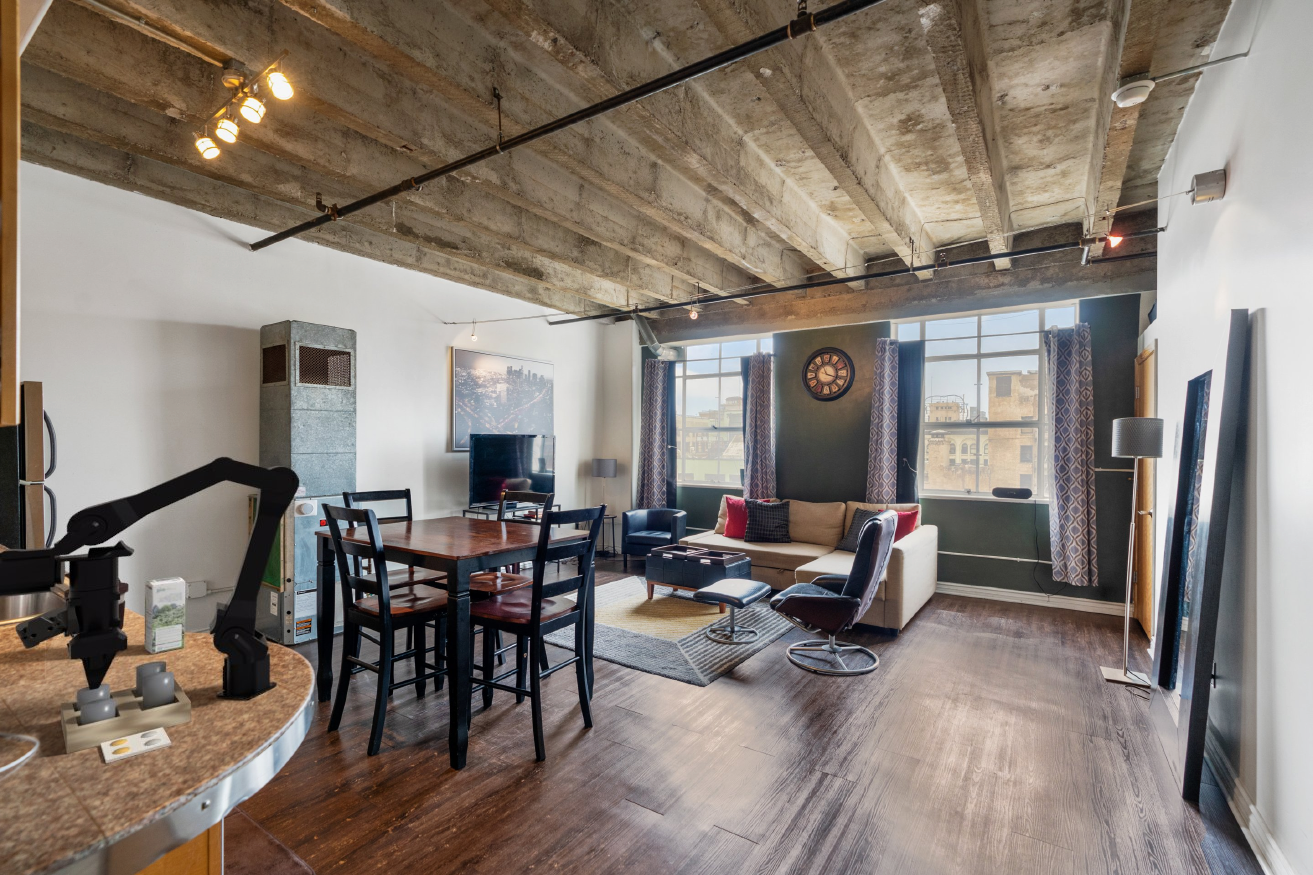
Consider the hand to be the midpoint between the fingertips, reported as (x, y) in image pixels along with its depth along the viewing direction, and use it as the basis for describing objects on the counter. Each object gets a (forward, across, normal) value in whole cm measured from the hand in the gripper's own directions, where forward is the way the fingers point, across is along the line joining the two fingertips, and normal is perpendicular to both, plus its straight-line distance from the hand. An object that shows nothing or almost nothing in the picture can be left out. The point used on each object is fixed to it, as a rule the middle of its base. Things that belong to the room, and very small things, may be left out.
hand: (94, 688), depth 97 cm
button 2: (+4, +7, 0) cm, 8 cm away
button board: (+5, +4, +4) cm, 7 cm away
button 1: (+4, 0, 0) cm, 4 cm away
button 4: (+2, +7, +7) cm, 10 cm away
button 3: (+2, 0, +7) cm, 7 cm away
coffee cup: (+5, -44, +3) cm, 44 cm away
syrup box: (+5, -36, +14) cm, 39 cm away
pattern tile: (+5, +14, +4) cm, 16 cm away
